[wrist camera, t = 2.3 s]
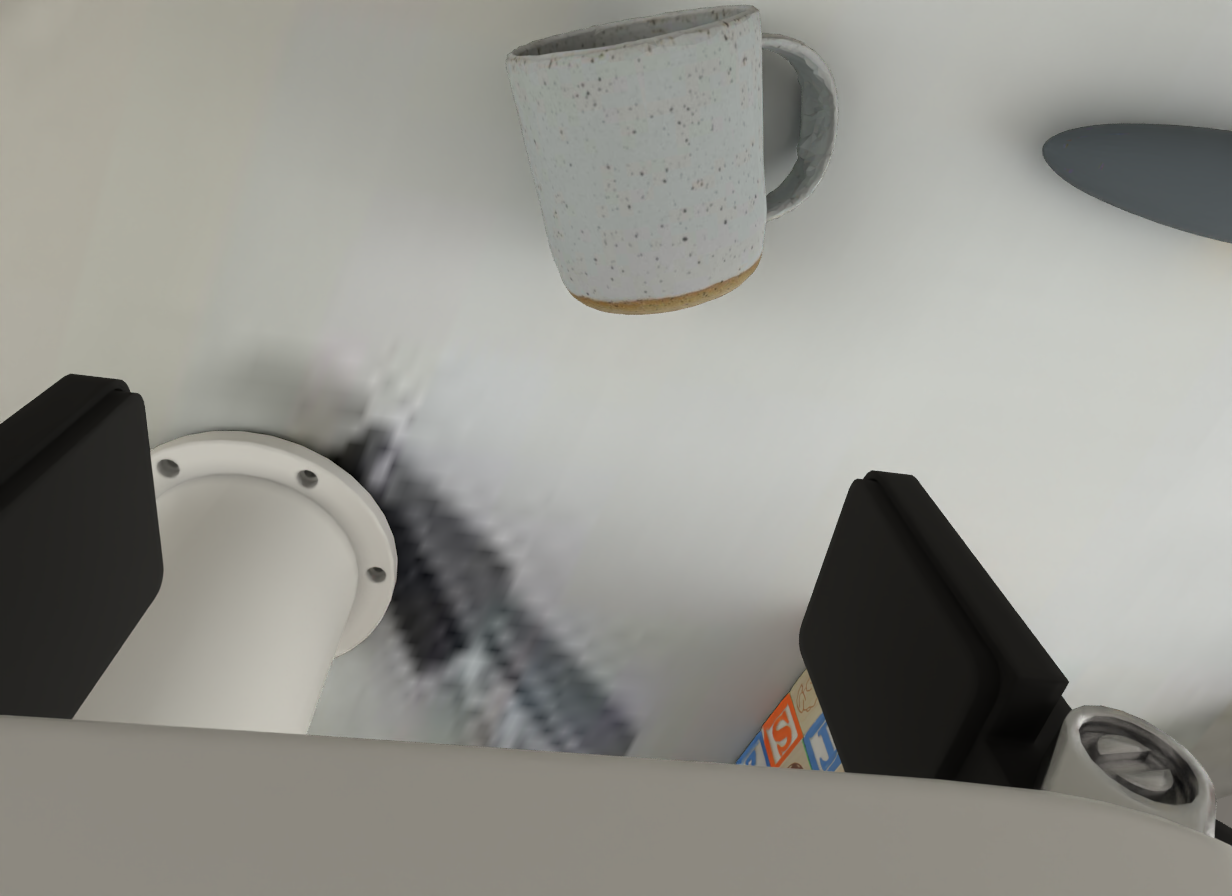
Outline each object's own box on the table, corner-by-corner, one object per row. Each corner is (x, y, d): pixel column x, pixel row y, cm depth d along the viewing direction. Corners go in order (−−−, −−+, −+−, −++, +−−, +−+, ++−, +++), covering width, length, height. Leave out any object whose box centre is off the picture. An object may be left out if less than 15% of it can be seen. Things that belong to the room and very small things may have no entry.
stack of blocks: (848, 603, 40) (953, 823, 29) (950, 640, 42) (1084, 860, 31) (658, 859, 49) (685, 1100, 38) (747, 881, 51) (797, 1119, 40)
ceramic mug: (562, 275, 31) (566, 349, 25) (508, 44, 27) (495, 56, 21) (832, 218, 31) (910, 277, 24) (816, -24, 27) (905, -35, 20)
